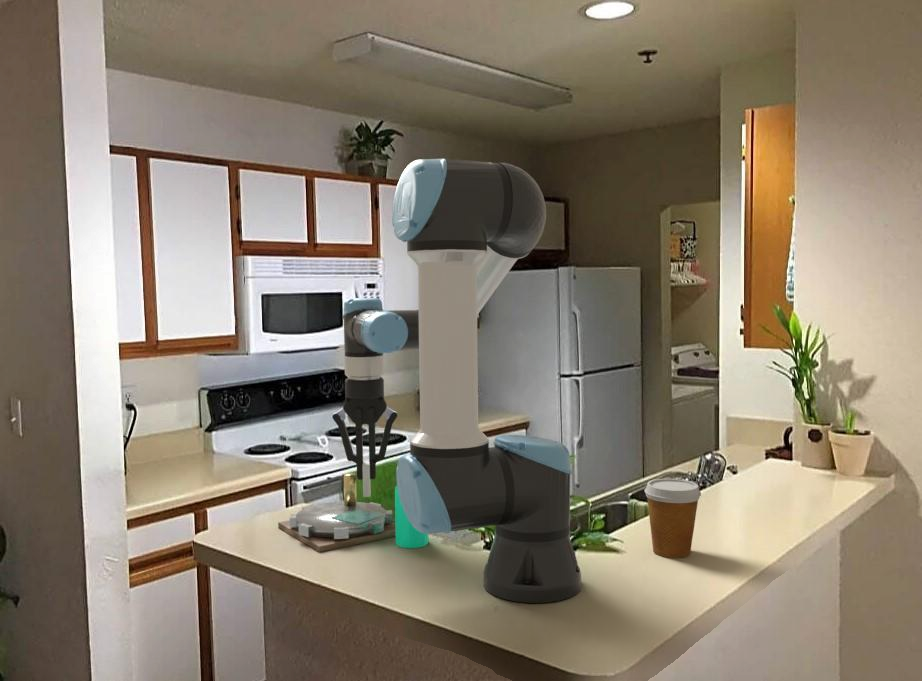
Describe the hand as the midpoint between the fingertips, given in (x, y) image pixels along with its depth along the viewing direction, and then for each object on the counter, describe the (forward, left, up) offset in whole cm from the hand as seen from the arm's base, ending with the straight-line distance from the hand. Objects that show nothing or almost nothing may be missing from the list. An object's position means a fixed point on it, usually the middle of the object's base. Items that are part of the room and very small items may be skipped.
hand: (366, 495), depth 165 cm
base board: (-3, +7, -5) cm, 9 cm away
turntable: (-3, +7, -4) cm, 9 cm away
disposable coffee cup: (-48, -34, -5) cm, 59 cm away
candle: (-17, 0, -5) cm, 18 cm away
